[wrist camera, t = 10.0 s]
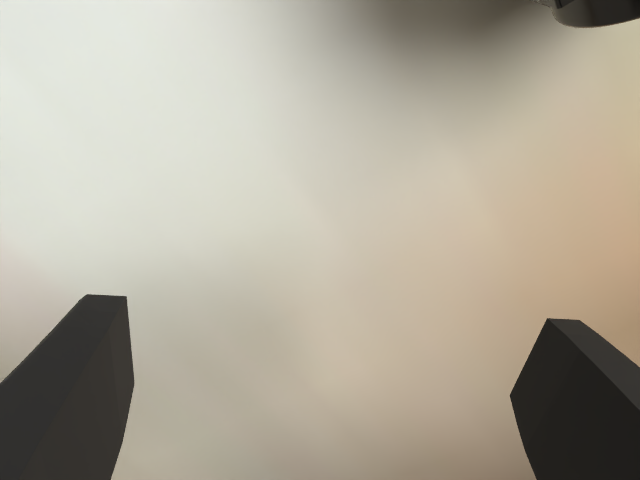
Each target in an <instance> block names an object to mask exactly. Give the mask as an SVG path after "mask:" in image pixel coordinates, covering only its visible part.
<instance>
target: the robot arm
mask: <svg viewBox="0 0 640 480" xmlns="http://www.w3.org/2000/svg"><path fill="white" fill-rule="evenodd" d="M133 388H134V373H133V362H132V351H131V340H130V329H129V319H128V308H127V297H126V296H109V295H90V294H87V295H85V296H84V297H83V298H82V299H80V300H79V301H78V303H77V304H76V305H75V306H74V307H73V308H72V309H71V310H70V311H69V312H68V313H67V315H66V316H65V317H64V318H63V319H62V320H61V321H60V322H59V323H58V324H57V325H56V327H55V328H54V329H53V330H52V331H51V332H50V333H49V334H48V335H47V336H46V337H45V338H44V339H43V340H42V341H41V343H40V344H39V345H38V346H37V347H36V348H35V349H34V350H33V351H32V352H31V353H30V354H29V355H28V356H27V357H26V358H25V359H24V360H23V361H22V362H21V363H20V364H19V365H18V366H17V367H16V368H15V369H14V370H13V371H12V372H11V373H10V374H9V375H8V376H7V377H6V378H5V379H4V380H3V381H2V382H1V383H0V480H111V477H112V474H113V470H114V467H115V464H116V461H117V458H118V455H119V452H120V448H121V445H122V442H123V437H124V432H125V428H126V423H127V418H128V413H129V408H130V403H131V398H132V393H133ZM510 398H511V402H512V406H513V410H514V414H515V418H516V422H517V425H518V429H519V432H520V436H521V439H522V442H523V446H524V449H525V452H526V454H527V457H528V459H529V462H530V464H531V467H532V469H533V472H534V474H535V476H536V479H537V480H640V367H638V366H637V365H636V364H635V363H634V362H632V361H631V360H630V359H629V358H628V357H626V356H625V355H624V354H623V353H621V352H620V351H619V350H618V349H616V348H615V347H614V346H613V345H612V344H610V343H609V342H608V341H606V340H605V339H604V338H603V337H601V336H600V335H599V334H598V333H596V332H595V331H594V330H592V329H591V328H590V327H588V326H587V325H585V324H584V323H583V322H581V321H580V320H569V319H550V318H547V320H546V322H545V324H544V326H543V328H542V330H541V332H540V334H539V336H538V338H537V340H536V342H535V344H534V347H533V349H532V351H531V353H530V355H529V357H528V359H527V361H526V363H525V365H524V367H523V369H522V371H521V373H520V375H519V377H518V379H517V381H516V383H515V386H514V388H513V390H512V392H511V394H510Z"/></svg>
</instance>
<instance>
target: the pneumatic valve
mask: <svg viewBox="0 0 640 480" xmlns="http://www.w3.org/2000/svg"><path fill="white" fill-rule="evenodd" d="M531 1H534V2H537V3H540V4H543V5H546V6H549V7H551V9H552V13H553V15H554V17H555V19H556V20H557V21H558V22H559V23H561V24H563V25H566V26H569V27H575V28H594V27H603V26H609V25H614V24H619V23H624V22H628V21H631V20H635V19H639V18H640V0H531Z"/></svg>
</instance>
